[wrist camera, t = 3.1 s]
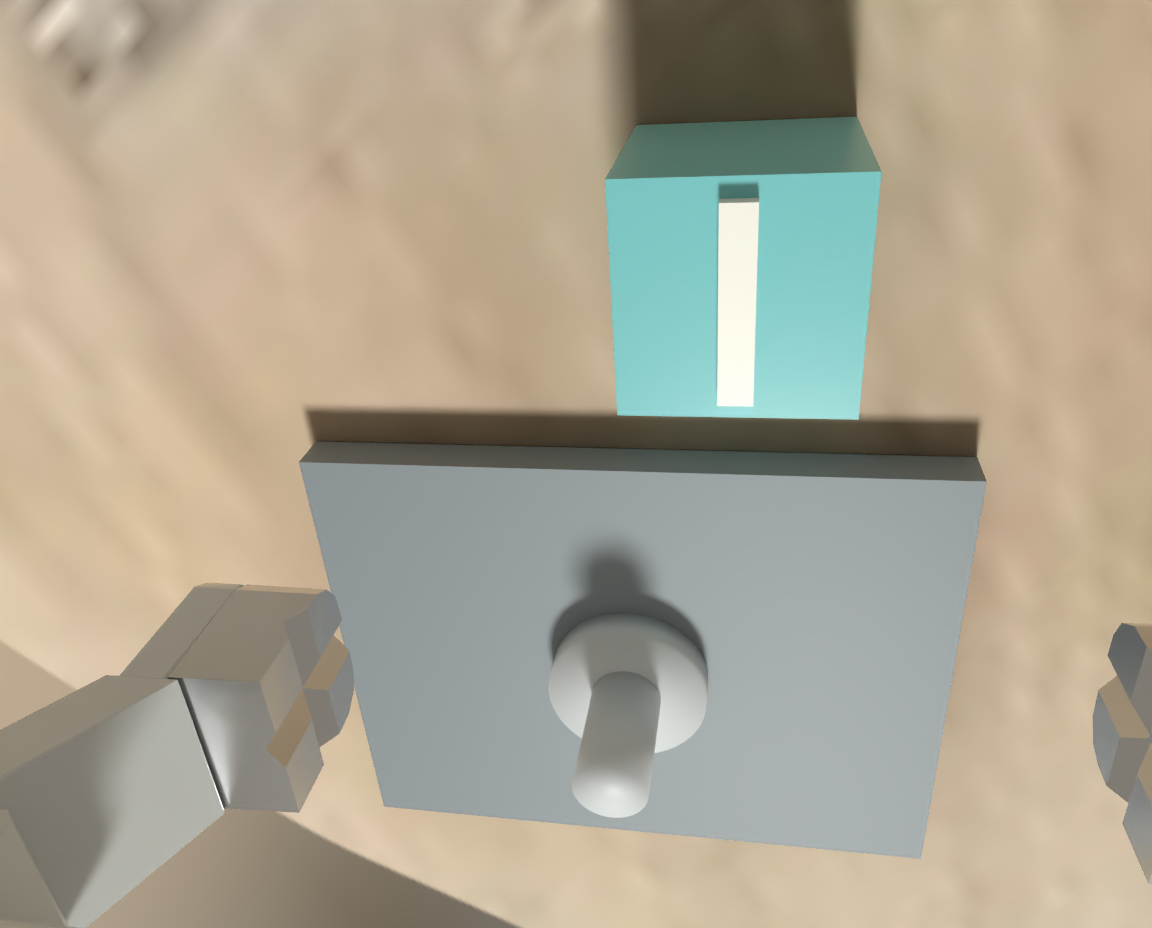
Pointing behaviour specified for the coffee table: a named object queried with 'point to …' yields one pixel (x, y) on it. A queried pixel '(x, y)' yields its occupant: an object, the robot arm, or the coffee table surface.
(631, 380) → the teal slotted cube
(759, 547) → the toggle switch board
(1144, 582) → the coffee table surface
